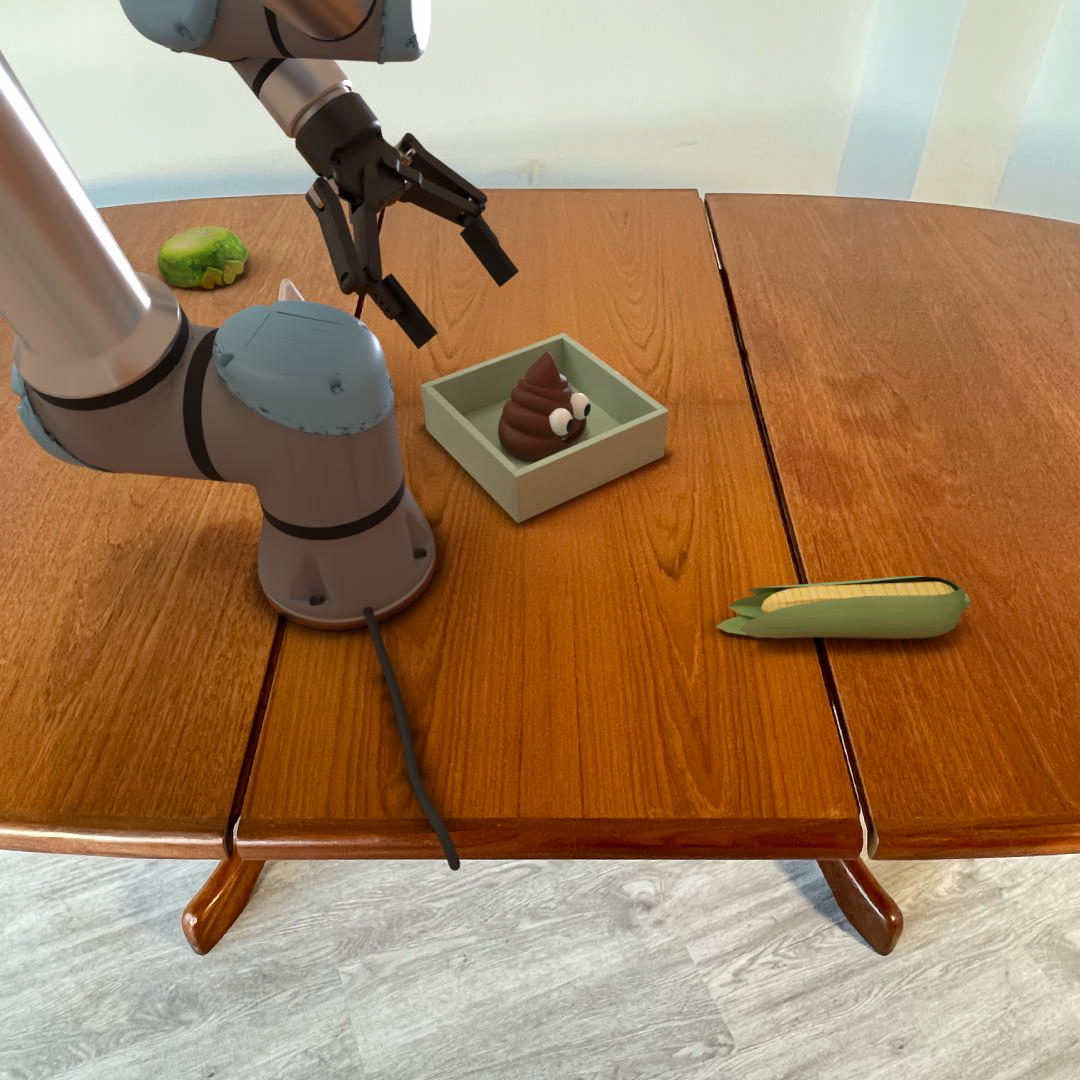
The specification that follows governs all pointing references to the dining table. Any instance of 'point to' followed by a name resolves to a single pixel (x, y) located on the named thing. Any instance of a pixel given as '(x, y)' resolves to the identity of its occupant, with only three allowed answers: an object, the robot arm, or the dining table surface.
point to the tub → (592, 460)
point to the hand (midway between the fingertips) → (471, 309)
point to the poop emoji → (542, 413)
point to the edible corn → (852, 609)
